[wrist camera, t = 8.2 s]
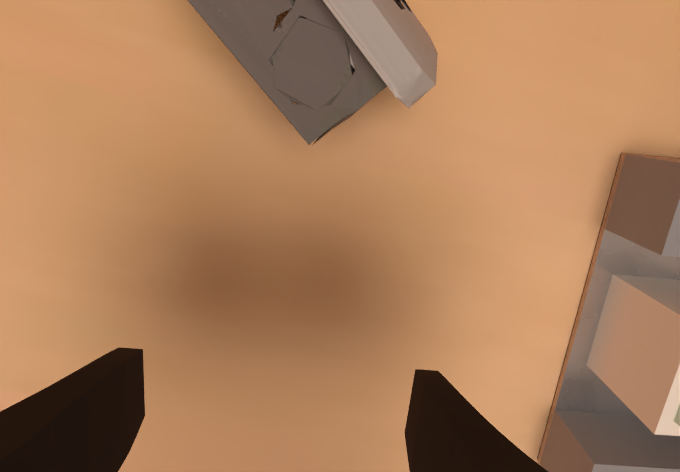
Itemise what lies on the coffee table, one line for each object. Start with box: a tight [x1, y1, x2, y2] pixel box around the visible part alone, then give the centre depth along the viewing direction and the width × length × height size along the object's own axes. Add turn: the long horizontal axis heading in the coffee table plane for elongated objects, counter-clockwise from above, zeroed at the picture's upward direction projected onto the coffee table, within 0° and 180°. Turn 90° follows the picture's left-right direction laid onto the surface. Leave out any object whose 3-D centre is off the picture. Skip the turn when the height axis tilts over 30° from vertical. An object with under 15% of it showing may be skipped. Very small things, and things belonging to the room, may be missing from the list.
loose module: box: [587, 274, 680, 436], centre depth 20 cm, size 5×4×5 cm
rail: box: [538, 153, 680, 462], centre depth 22 cm, size 17×8×2 cm, turn 174°
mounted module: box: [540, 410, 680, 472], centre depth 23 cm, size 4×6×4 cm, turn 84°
